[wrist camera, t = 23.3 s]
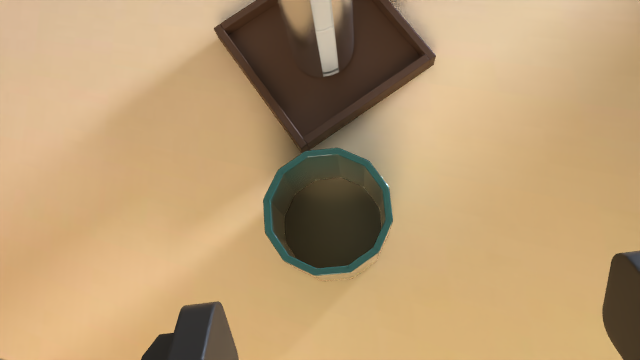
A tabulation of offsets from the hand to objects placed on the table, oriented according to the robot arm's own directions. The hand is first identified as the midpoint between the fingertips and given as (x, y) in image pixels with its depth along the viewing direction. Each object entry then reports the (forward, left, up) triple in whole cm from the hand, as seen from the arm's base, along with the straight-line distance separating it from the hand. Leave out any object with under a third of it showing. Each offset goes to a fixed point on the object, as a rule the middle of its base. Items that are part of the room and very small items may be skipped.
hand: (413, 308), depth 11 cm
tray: (-11, -25, -39) cm, 47 cm away
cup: (-1, -9, -39) cm, 40 cm away
